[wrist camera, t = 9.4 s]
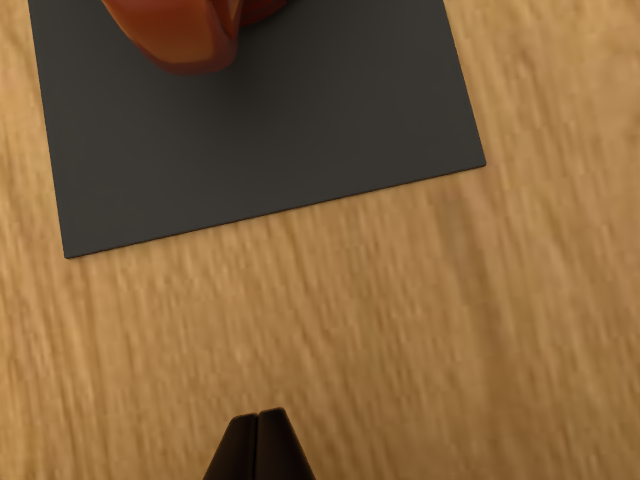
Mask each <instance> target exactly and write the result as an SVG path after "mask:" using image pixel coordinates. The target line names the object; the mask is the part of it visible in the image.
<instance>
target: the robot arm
mask: <svg viewBox="0 0 640 480" xmlns="http://www.w3.org/2000/svg"><path fill="white" fill-rule="evenodd" d="M203 480H316V478H315V476H314V474H313V472H312V469H311V467H310V465H309V463H308V461H307V458H306V456H305V454H304V452H303V449H302V447H301V445H300V443H299V440H298V438H297V436H296V434H295V431H294V429H293V427H292V425H291V423H290V420H289V418H288V416H287V414H286V411H285V410H284V408H282V407H277V408H273V409H268V410H263V411H261V412H260V413H259V415H258V414H257V413H249V414H244V415H239V416H236V417H234V418H233V419H232V420H231V421H230V423H229V425H228V427H227V429H226V431H225V433H224V436H223V438H222V440H221V442H220V444H219V446H218V448H217V450H216V452H215V455H214V457H213V459H212V461H211V463H210V465H209V467H208V469H207V472H206V474H205V476H204V478H203Z"/></svg>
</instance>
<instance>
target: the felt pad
mask: <svg viewBox="0 0 640 480" xmlns="http://www.w3.org/2000/svg"><path fill="white" fill-rule="evenodd" d="M28 4H29V11H30V18H31V25H32V33H33V40H34V47H35V54H36V61H37V68H38V75H39V82H40V89H41V96H42V103H43V110H44V117H45V124H46V131H47V138H48V145H49V152H50V159H51V166H52V173H53V180H54V187H55V194H56V201H57V208H58V215H59V222H60V230H61V237H62V244H63V251H64V258H66V259H70V258H74V257H79V256H83V255H88V254H92V253H97V252H101V251H106V250H110V249H115V248H119V247H124V246H128V245H133V244H137V243H142V242H146V241H151V240H155V239H160V238H164V237H169V236H173V235H178V234H182V233H187V232H191V231H196V230H200V229H205V228H209V227H214V226H218V225H223V224H227V223H231V222H236V221H240V220H245V219H249V218H254V217H258V216H263V215H267V214H272V213H276V212H281V211H285V210H290V209H294V208H299V207H303V206H308V205H312V204H317V203H321V202H326V201H330V200H335V199H339V198H344V197H348V196H353V195H357V194H362V193H366V192H371V191H375V190H380V189H384V188H389V187H393V186H398V185H402V184H407V183H411V182H416V181H420V180H424V179H429V178H433V177H438V176H442V175H447V174H451V173H456V172H460V171H465V170H469V169H474V168H478V167H483V166H485V165H486V160H485V156H484V152H483V149H482V145H481V141H480V137H479V134H478V130H477V126H476V123H475V119H474V115H473V111H472V108H471V104H470V100H469V96H468V93H467V89H466V85H465V81H464V78H463V74H462V70H461V66H460V63H459V59H458V55H457V51H456V48H455V44H454V40H453V36H452V33H451V29H450V25H449V22H448V18H447V14H446V10H445V7H444V3H443V0H289V1H288V2H287V3H286V4H284V5H283V6H282V7H281V8H280V9H279V10H277V11H276V12H275V13H273V14H272V15H270V16H268V17H267V18H265V19H262V20H260V21H257V22H255V23H252V24H249V25H246V26H243V27H240V28H239V34H238V50H237V54H236V56H235V59H234V61H233V62H232V63H231V64H230V65H229V66H228V67H226V68H224V69H222V70H220V71H217V72H214V73H209V74H204V75H199V76H190V77H181V76H175V75H171V74H169V73H167V72H165V71H163V70H161V69H159V68H158V67H156V66H155V65H154V64H152V63H151V62H150V61H149V60H148V59H147V58H146V57H145V56H144V55H143V54H142V53H141V52H140V51H139V50H138V49H137V48H136V47H135V46H134V45H133V43H132V42H131V41H130V40H129V39H128V38H127V36H126V35H125V34H124V33H123V32H122V30H121V29H120V28H119V27H118V25H117V24H116V22H115V21H114V20H113V18H112V17H111V15H110V14H109V12H108V11H107V9H106V7H105V6H104V4H103V2H102V1H101V0H28Z"/></svg>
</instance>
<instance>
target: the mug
mask: <svg viewBox="0 0 640 480" xmlns="http://www.w3.org/2000/svg"><path fill="white" fill-rule="evenodd" d="M101 1H102V2H103V4H104V6H105V7H106V9H107V11H108V12H109V14H110V15H111V17H112V18H113V20H114V21H115V22H116V24H117V25H118V27H119V28H120V29H121V30H122V32H123V33H124V34H125V35H126V36H127V38H128V39H129V40H130V41H131V42H132V43H133V45H134V46H135V47H136V48H137V49H138V50H139V51H140V52H141V53H142V54H143V55H144V56H145V57H146V58H147V59H148V60H149V61H150V62H151V63H152V64H154V65H155V66H156V67H158V68H159V69H161V70H163V71H165V72H167V73H169V74H171V75H175V76H181V77H190V76H199V75H204V74H209V73H214V72H217V71H220V70H222V69H224V68H226V67H228V66H229V65H230V64H231V63H232V62H233V61H234V59H235V56H236V54H237V50H238V34H239V28H240V27H243V26H246V25H249V24H252V23H255V22H257V21H260V20H262V19H265V18H267V17H268V16H270V15H272V14H273V13H275V12H276V11H277V10H279V9H280V8H281V7H282V6H283V5H284V4H286V3H287V2H288V1H289V0H101Z"/></svg>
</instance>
